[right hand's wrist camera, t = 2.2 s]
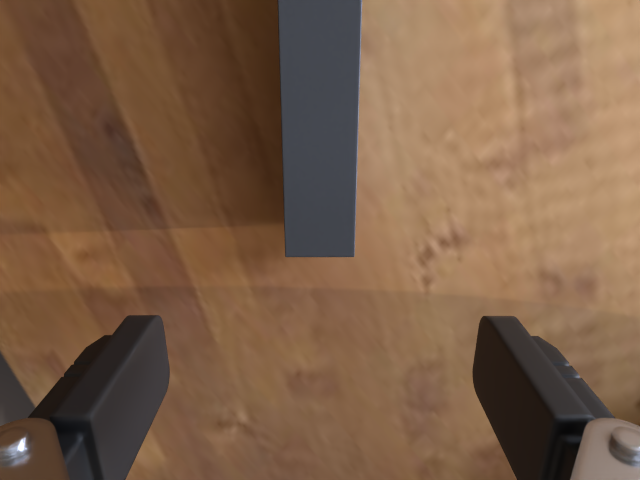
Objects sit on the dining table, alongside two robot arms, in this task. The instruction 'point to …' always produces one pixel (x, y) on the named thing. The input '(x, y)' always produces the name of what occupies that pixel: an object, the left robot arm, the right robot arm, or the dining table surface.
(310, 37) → the bar
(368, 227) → the dining table surface
